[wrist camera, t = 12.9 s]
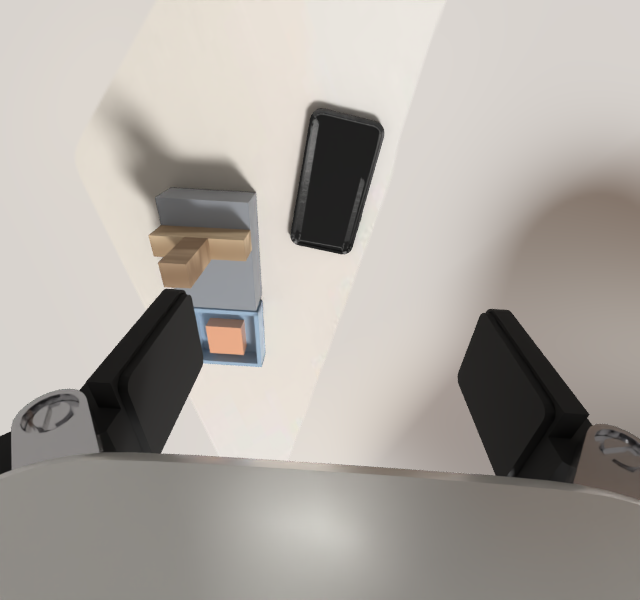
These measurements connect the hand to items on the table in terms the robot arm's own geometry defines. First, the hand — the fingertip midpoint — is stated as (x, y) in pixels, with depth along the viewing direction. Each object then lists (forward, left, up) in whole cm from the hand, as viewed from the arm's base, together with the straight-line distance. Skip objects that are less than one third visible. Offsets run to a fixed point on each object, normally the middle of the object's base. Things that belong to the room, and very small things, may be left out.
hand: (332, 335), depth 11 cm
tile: (+25, -14, -28) cm, 40 cm away
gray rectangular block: (+11, -14, -30) cm, 35 cm away
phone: (+3, 0, -31) cm, 31 cm away
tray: (+24, -14, -30) cm, 41 cm away
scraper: (+8, -14, -26) cm, 31 cm away
